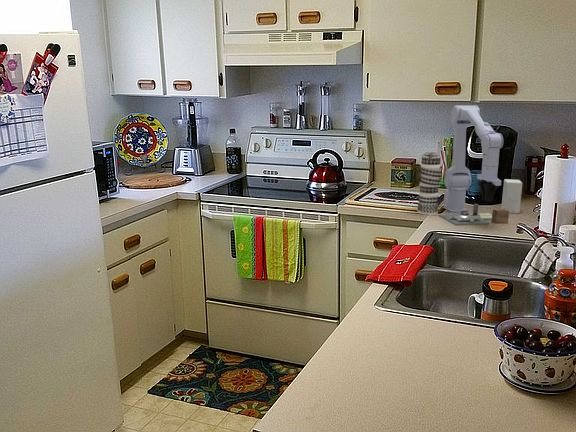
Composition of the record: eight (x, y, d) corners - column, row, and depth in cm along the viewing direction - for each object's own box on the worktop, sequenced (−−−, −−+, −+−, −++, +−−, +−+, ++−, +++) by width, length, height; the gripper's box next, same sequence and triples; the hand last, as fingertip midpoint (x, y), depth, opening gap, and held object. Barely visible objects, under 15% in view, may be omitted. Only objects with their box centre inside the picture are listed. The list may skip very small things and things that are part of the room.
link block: (491, 221, 242) (492, 208, 241) (503, 221, 243) (504, 208, 242) (496, 223, 239) (497, 210, 238) (507, 223, 240) (509, 210, 239)
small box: (519, 213, 256) (522, 182, 253) (503, 212, 257) (506, 182, 254) (516, 209, 263) (519, 179, 260) (500, 208, 265) (503, 178, 261)
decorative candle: (418, 209, 262) (421, 150, 256) (440, 211, 259) (444, 152, 253) (414, 213, 254) (418, 153, 248) (437, 215, 250) (441, 154, 245)
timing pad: (472, 215, 252) (472, 213, 252) (488, 214, 253) (488, 212, 253) (482, 219, 244) (482, 218, 244) (498, 219, 246) (498, 217, 246)
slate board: (439, 216, 250) (439, 214, 250) (471, 214, 252) (471, 213, 252) (455, 225, 236) (456, 223, 235) (489, 223, 238) (489, 222, 238)
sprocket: (443, 214, 248) (444, 201, 247) (471, 213, 250) (472, 200, 249) (457, 222, 236) (458, 208, 235) (486, 221, 239) (487, 207, 237)
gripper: (471, 163, 237) (468, 197, 241) (490, 169, 224) (486, 205, 227) (487, 162, 239) (484, 196, 242) (507, 168, 225) (504, 204, 228)
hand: (486, 201), depth 235 cm, fingers closed
